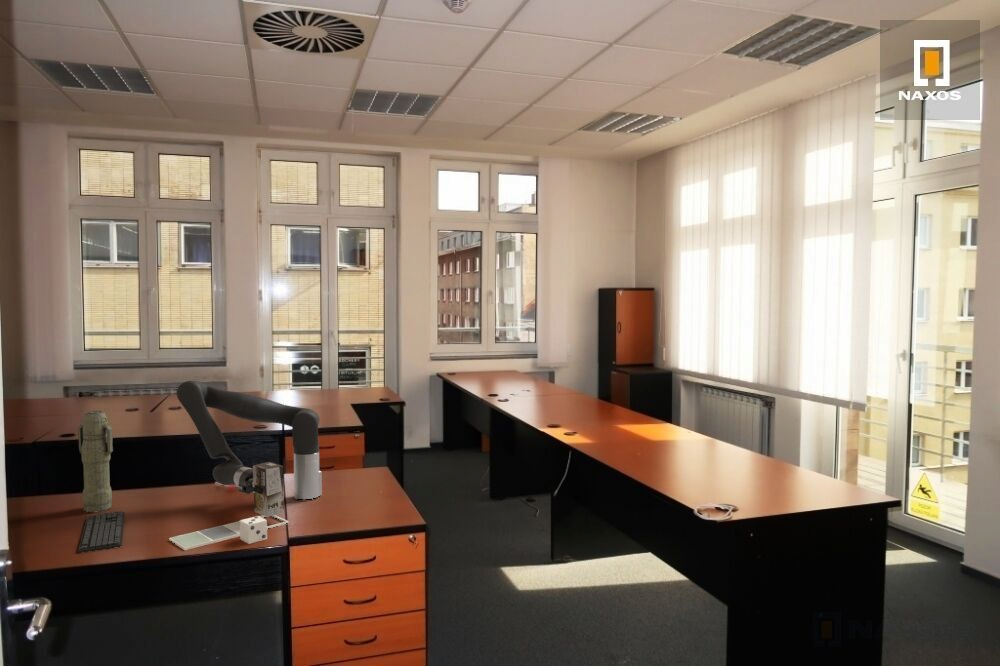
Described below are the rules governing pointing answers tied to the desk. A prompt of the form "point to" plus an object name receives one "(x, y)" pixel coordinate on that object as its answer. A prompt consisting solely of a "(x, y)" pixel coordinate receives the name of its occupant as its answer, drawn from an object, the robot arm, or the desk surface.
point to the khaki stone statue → (96, 460)
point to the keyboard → (102, 532)
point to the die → (253, 529)
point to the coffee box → (269, 489)
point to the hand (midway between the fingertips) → (271, 488)
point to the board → (213, 535)
